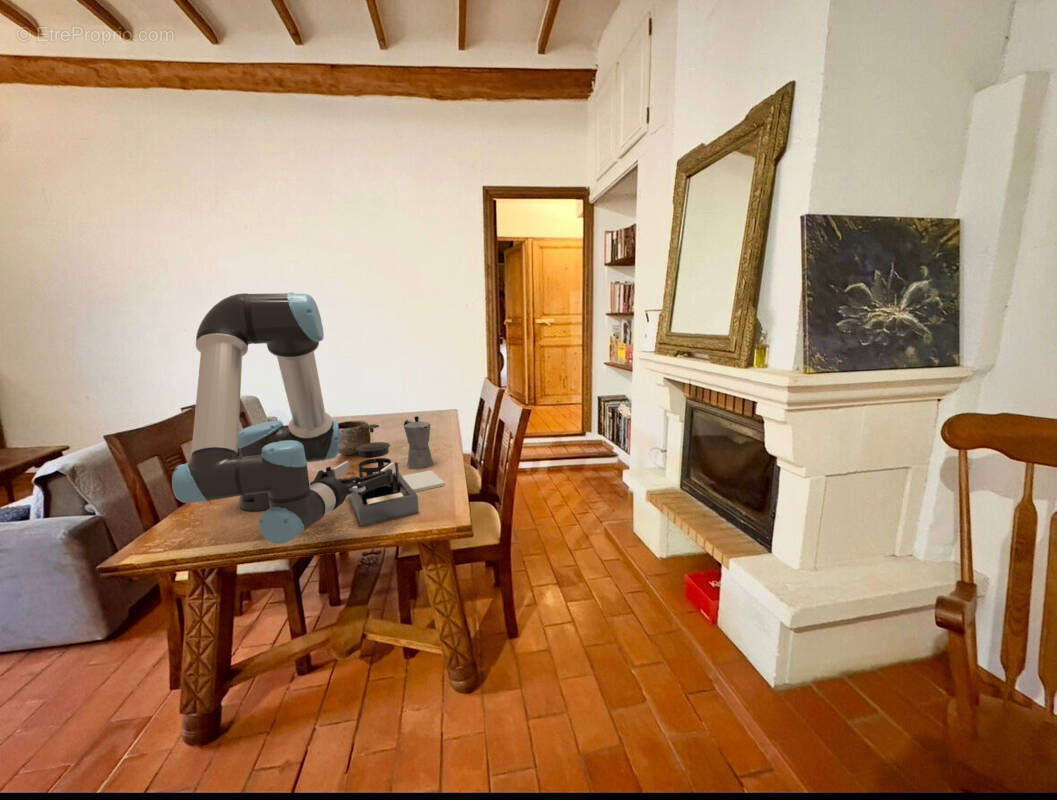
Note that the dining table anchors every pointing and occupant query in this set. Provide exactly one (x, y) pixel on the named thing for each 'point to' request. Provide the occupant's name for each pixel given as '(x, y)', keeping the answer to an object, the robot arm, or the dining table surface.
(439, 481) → the mat
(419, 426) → the coffeepot
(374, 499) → the offcut stack
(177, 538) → the dining table surface
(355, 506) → the open box
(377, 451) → the french press
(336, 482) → the robot arm
